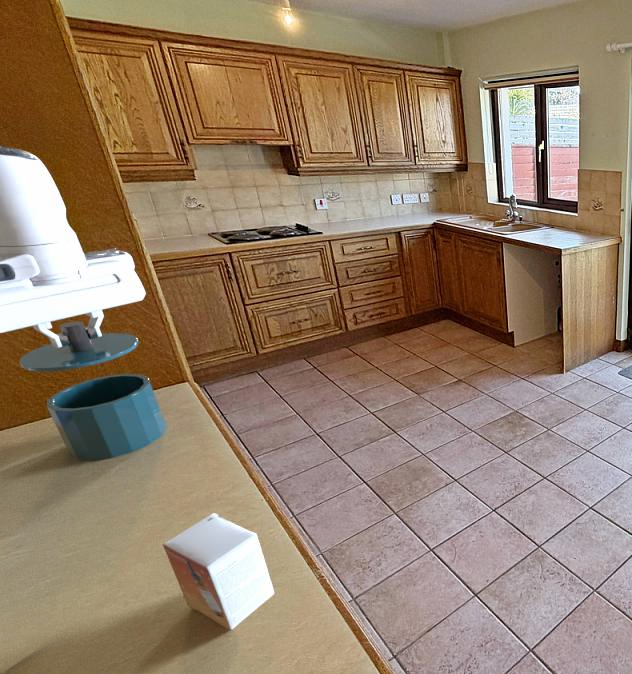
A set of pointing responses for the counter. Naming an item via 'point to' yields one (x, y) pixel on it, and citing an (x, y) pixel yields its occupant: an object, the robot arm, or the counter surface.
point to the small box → (220, 570)
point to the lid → (78, 350)
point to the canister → (107, 416)
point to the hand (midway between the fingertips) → (78, 341)
